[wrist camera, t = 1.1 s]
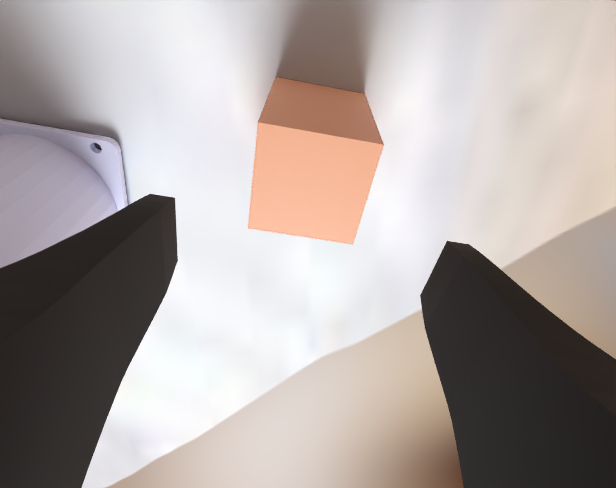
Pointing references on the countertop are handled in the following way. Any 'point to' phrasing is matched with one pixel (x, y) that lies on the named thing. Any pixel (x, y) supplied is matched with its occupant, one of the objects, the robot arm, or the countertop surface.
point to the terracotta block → (313, 161)
